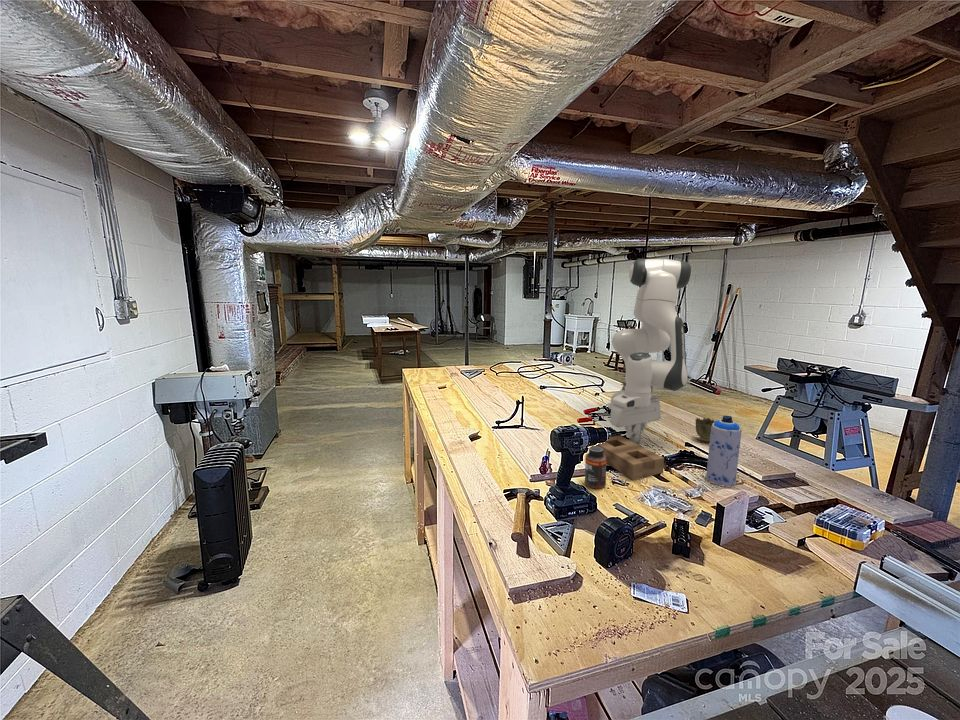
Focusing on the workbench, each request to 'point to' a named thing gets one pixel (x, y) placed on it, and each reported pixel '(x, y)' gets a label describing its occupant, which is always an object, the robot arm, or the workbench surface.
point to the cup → (704, 428)
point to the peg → (635, 433)
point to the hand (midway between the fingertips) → (634, 434)
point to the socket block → (631, 458)
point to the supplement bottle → (595, 468)
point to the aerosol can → (723, 452)
